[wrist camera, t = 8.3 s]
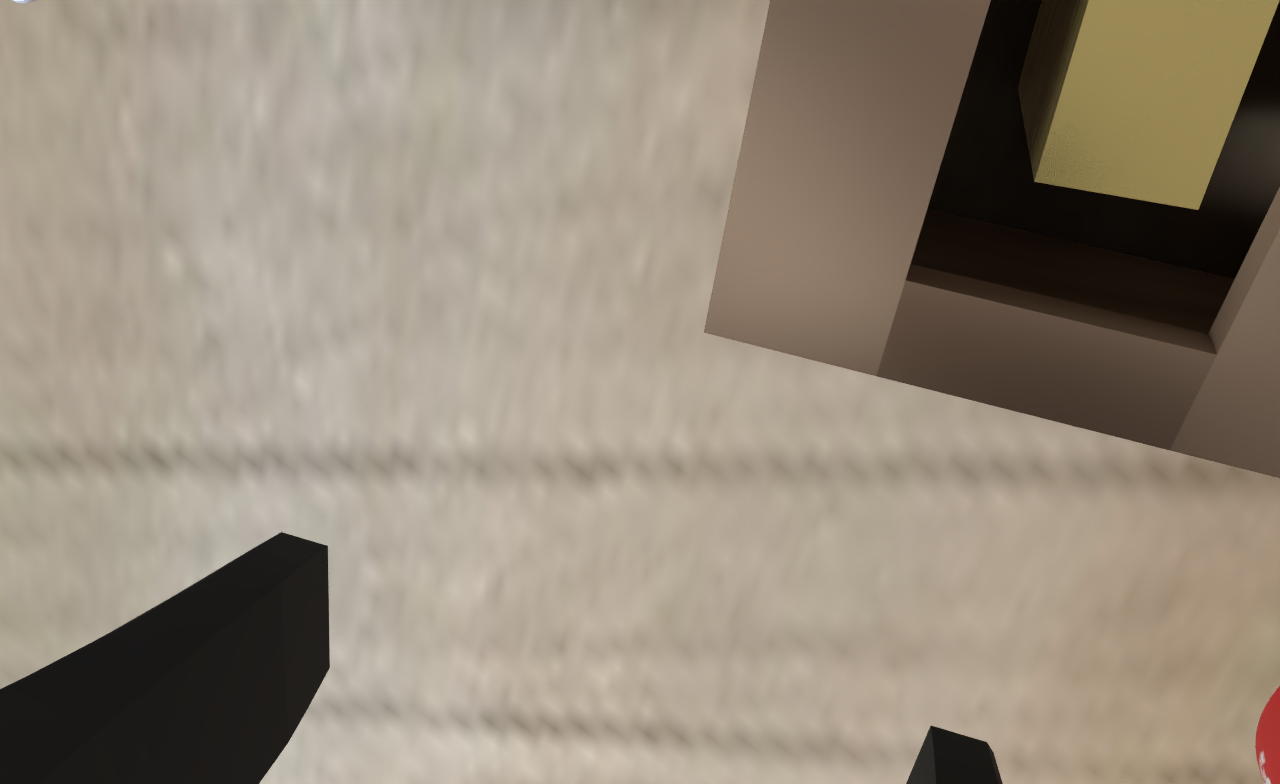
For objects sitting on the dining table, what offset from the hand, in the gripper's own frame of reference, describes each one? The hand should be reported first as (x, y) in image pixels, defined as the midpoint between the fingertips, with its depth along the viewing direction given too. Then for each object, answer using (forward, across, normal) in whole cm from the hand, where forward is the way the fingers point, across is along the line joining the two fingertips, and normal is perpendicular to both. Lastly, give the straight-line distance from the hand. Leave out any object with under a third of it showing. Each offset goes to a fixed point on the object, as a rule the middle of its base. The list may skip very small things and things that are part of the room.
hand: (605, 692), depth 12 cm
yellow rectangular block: (+10, -4, -8) cm, 14 cm away
